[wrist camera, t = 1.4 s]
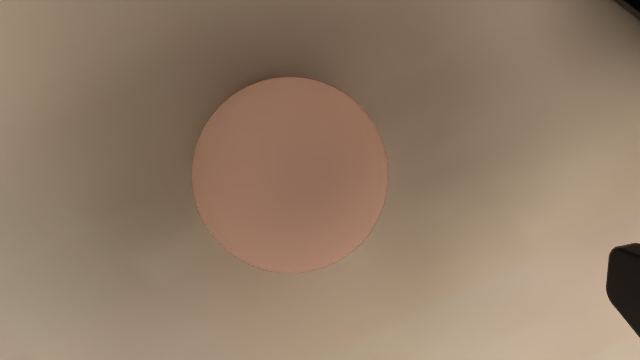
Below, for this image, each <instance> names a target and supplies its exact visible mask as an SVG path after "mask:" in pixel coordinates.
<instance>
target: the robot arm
mask: <svg viewBox="0 0 640 360" xmlns="http://www.w3.org/2000/svg"><path fill="white" fill-rule="evenodd" d="M616 1H617V2H618V3H620V4H621V5H622V6H623V7H625V8H626V9H627V10H629V11H630V12H631V13H632V14H634V15H635V16H636V17H638V18H639V19H640V0H616ZM606 291H607V295H608V298H609V300H610V301H611V303H612V304H613V305H614V307H615V308H616V309H617V310H618V311H619V313H620V314H621V315H622V316H623V318H624V319H625V320H626V321H627V323H628V324H629V325H630V326H631V327H632V329H633V330H634V331H635V332H636V334H637V335H638V336H639V337H640V244H639V243H632V244H627V245H623V246H618V247H615V248H614V249H612V250H611V252H610V254H609V261H608V271H607V282H606Z"/></svg>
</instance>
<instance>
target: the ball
mask: <svg viewBox="0 0 640 360" xmlns="http://www.w3.org/2000/svg"><path fill="white" fill-rule="evenodd" d="M192 187H193V193H194V199H195V202H196V205H197V208H198V211H199V213H200V215H201V217H202V219H203V222H204V223H205V225H206V227H207V228H208V230H209V231H210V233H211V234H212V236H213V237H214V238H215V239H216V240H217V241H218V242H219V244H220V245H221V246H223V247H224V248H225V249H226V250H227V251H229V252H230V253H231V254H232V255H234V256H235V257H237V258H238V259H240V260H241V261H243V262H245V263H247V264H249V265H252V266H254V267H257V268H260V269H263V270H267V271H272V272H278V273H303V272H309V271H314V270H317V269H320V268H324V267H326V266H328V265H331V264H333V263H335V262H337V261H338V260H340V259H342V258H344V257H345V256H346V255H348V254H349V253H351V252H352V251H353V250H354V249H355V248H356V247H357V246H359V245H360V244H361V243H362V241H363V240H364V239H365V238H366V237H367V236H368V234H369V233H370V231H371V230H372V228H373V227H374V225H375V223H376V221H377V219H378V217H379V215H380V213H381V211H382V208H383V205H384V203H385V198H386V194H387V187H388V163H387V157H386V152H385V148H384V145H383V142H382V139H381V137H380V135H379V133H378V131H377V129H376V127H375V125H374V123H373V122H372V120H371V119H370V117H369V116H368V115H367V114H366V113H365V111H364V110H363V109H362V108H361V107H360V106H359V105H358V104H357V103H356V102H355V101H354V100H352V99H351V98H350V97H349V96H348V95H346V94H344V93H343V92H341V91H340V90H338V89H336V88H334V87H332V86H330V85H328V84H325V83H322V82H319V81H316V80H312V79H307V78H301V77H280V78H272V79H268V80H264V81H260V82H257V83H255V84H252V85H250V86H247V87H246V88H244V89H242V90H240V91H238V92H237V93H235V94H234V95H233V96H231V97H230V98H228V99H227V100H226V101H225V102H224V103H223V104H222V105H221V106H220V107H219V108H218V109H217V110H216V111H215V112H214V113H213V115H212V116H211V117H210V119H209V120H208V122H207V123H206V125H205V127H204V128H203V130H202V132H201V135H200V137H199V140H198V142H197V145H196V148H195V152H194V156H193V163H192Z"/></svg>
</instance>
